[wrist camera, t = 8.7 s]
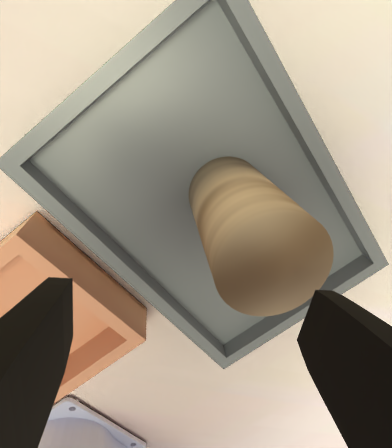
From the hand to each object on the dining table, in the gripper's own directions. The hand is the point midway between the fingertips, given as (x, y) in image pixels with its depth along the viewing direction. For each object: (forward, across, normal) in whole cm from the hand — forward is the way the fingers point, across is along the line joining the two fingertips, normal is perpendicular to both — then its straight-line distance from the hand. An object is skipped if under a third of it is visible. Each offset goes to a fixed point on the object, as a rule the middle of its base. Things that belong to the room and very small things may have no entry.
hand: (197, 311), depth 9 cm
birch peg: (+10, -3, -1) cm, 10 cm away
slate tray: (+10, -3, +1) cm, 11 cm away
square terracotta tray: (+10, +8, +8) cm, 15 cm away
